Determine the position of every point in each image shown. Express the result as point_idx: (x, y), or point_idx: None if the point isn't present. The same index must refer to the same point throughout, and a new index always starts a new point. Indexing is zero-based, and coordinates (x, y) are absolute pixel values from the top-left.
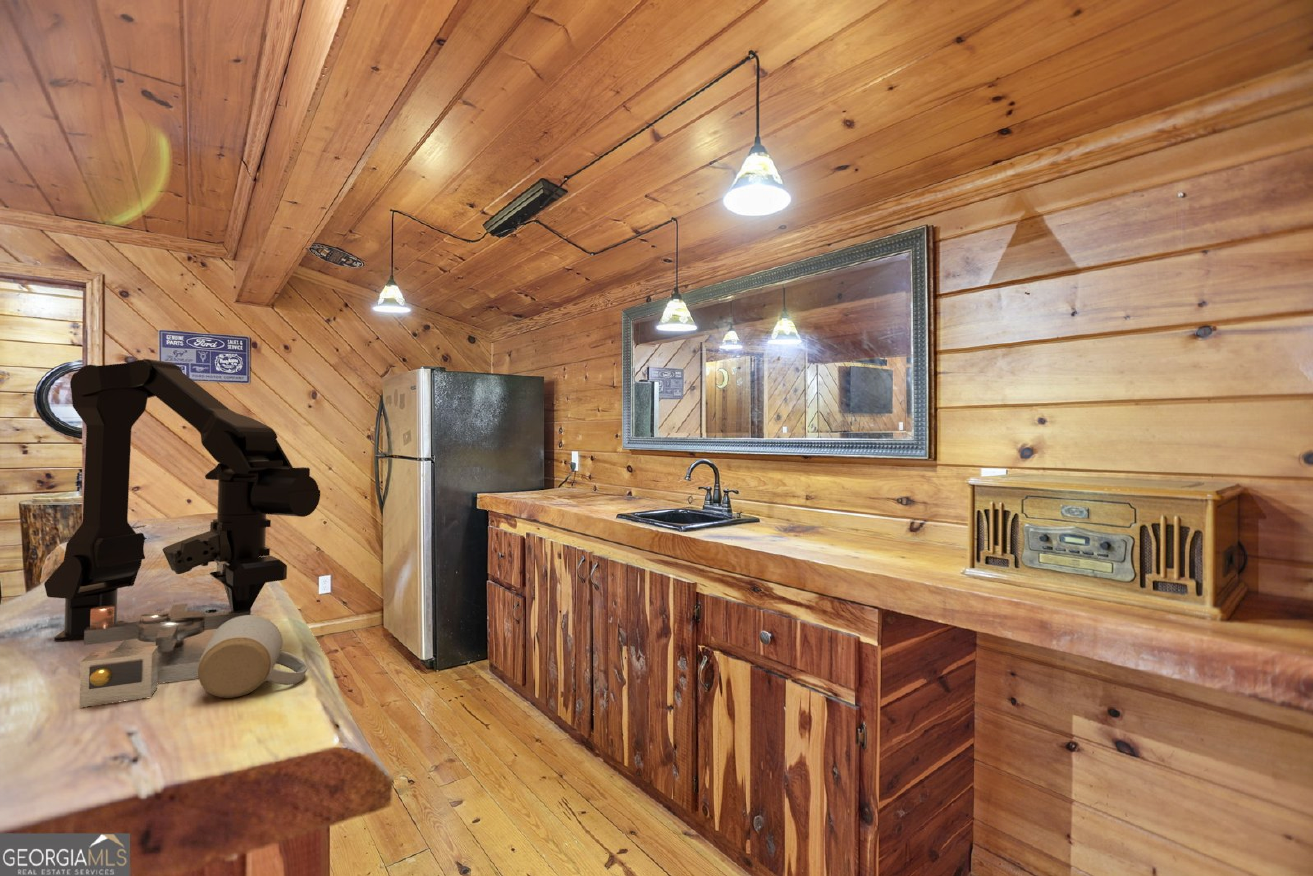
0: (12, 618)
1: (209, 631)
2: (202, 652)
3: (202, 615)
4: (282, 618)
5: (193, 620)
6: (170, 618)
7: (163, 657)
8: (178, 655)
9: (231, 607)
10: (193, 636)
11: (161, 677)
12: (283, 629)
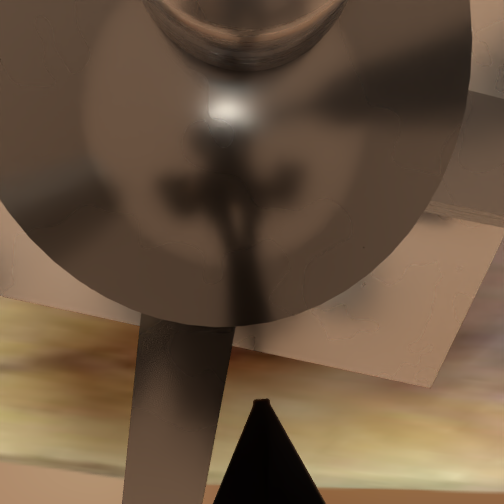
0: None
1: (348, 294)
2: (27, 238)
3: (176, 301)
4: (473, 471)
5: (30, 228)
6: (230, 71)
7: None
8: None
9: (268, 474)
10: None
11: None
12: (350, 457)
